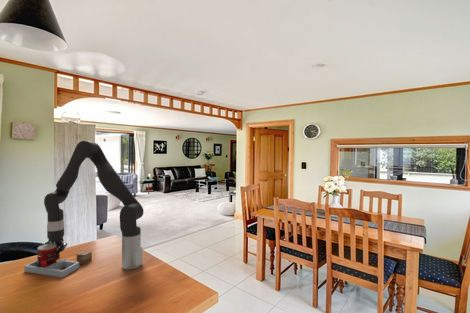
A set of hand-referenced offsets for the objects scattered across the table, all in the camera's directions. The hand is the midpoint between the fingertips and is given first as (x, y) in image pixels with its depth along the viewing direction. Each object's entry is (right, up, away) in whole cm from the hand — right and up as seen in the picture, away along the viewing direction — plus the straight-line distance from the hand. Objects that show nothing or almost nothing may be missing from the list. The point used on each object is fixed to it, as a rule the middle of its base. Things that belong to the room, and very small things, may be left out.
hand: (56, 259), depth 132 cm
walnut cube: (+14, -2, +2) cm, 14 cm away
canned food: (-1, -2, -5) cm, 5 cm away
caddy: (+4, -2, -6) cm, 8 cm away
